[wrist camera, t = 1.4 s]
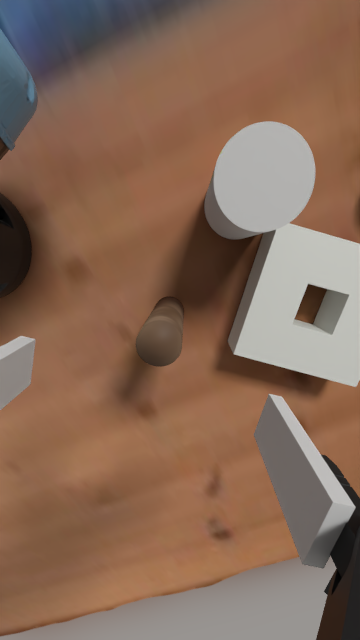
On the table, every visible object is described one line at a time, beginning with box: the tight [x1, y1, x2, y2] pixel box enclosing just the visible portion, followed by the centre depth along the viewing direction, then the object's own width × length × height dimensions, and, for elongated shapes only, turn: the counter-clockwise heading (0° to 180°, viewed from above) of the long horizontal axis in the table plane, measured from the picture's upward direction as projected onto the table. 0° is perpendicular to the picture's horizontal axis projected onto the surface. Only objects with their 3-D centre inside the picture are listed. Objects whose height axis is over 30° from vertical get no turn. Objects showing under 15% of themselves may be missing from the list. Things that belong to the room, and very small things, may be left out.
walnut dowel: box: [136, 297, 184, 366], centre depth 30 cm, size 4×4×14 cm
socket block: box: [228, 223, 360, 387], centre depth 33 cm, size 16×16×5 cm
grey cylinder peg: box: [204, 122, 315, 239], centre depth 27 cm, size 8×8×12 cm
